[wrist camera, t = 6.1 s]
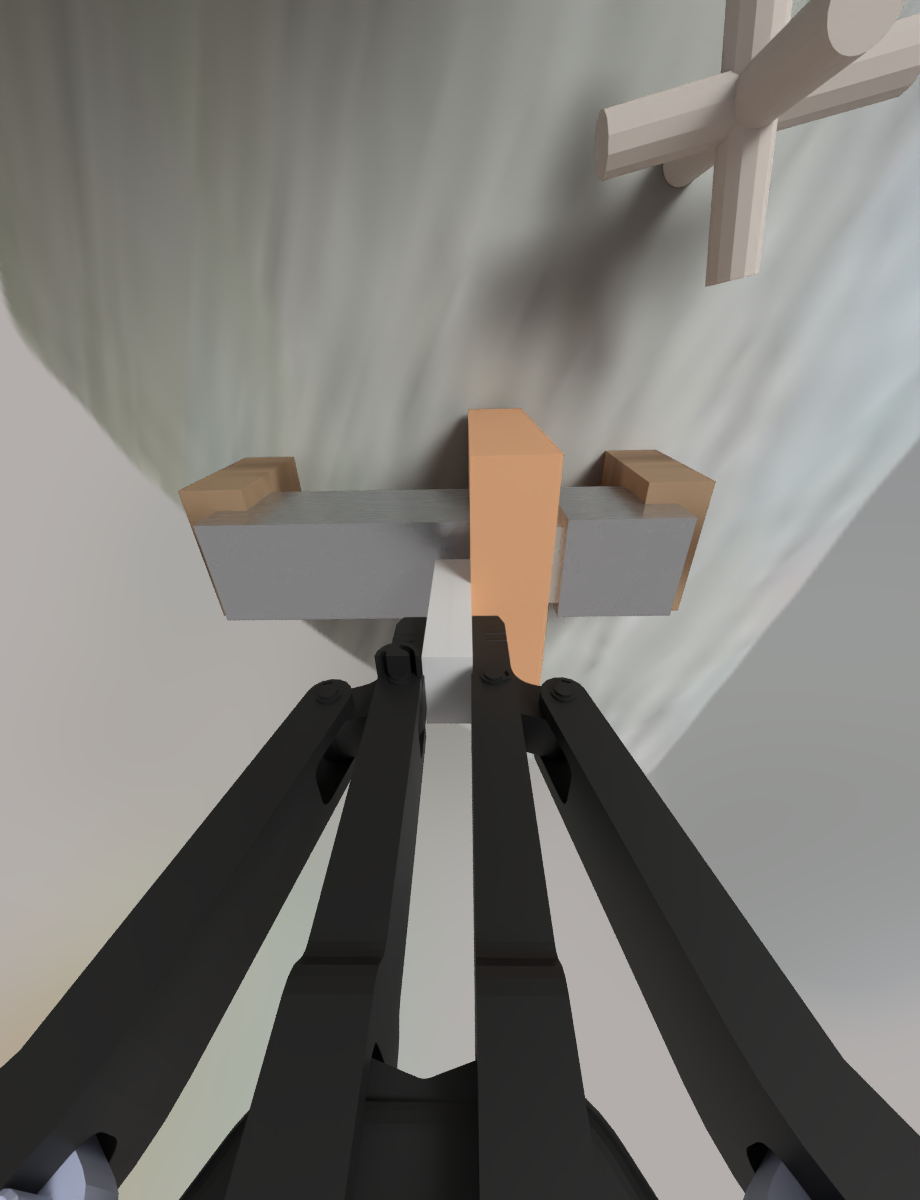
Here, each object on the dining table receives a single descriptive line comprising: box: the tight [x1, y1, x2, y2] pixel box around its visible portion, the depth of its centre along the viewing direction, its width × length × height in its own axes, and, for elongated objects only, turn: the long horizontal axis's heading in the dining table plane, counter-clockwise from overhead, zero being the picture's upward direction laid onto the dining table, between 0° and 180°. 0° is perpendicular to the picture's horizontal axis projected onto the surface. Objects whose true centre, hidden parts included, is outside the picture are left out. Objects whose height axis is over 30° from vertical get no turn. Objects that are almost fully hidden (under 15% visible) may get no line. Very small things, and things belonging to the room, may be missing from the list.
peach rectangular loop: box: [468, 408, 564, 686], centre depth 22 cm, size 12×3×12 cm, turn 1°
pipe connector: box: [595, 0, 920, 287], centre depth 14 cm, size 10×10×10 cm
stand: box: [178, 450, 716, 615], centre depth 24 cm, size 7×25×7 cm, turn 91°
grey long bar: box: [193, 486, 697, 620], centre depth 22 cm, size 5×22×5 cm, turn 91°
